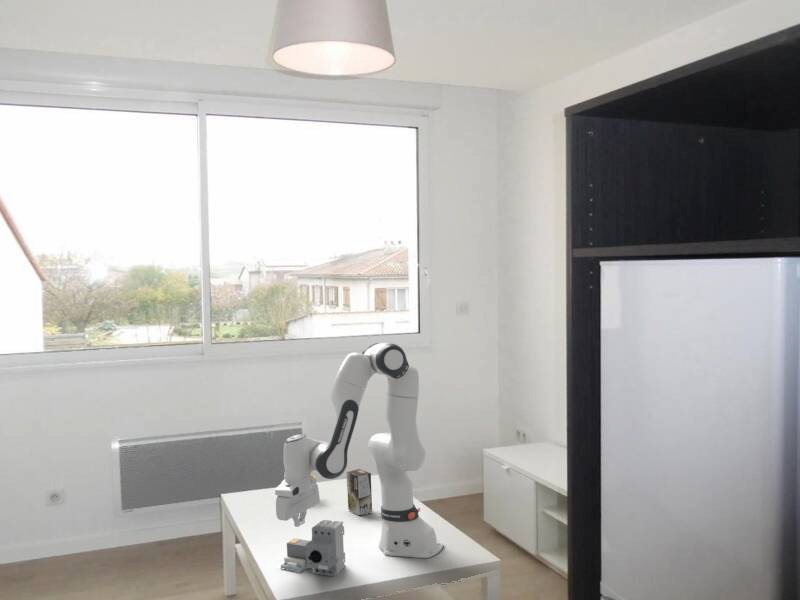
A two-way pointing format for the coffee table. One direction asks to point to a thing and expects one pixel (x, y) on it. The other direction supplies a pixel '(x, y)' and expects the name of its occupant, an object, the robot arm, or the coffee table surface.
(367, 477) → the coffee box
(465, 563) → the coffee table surface
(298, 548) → the module
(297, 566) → the panel
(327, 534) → the circuit breaker
